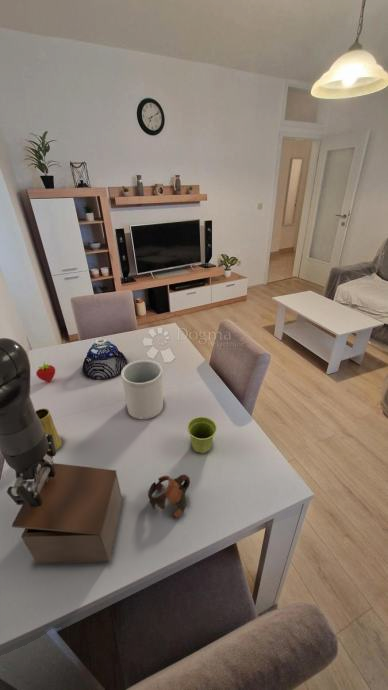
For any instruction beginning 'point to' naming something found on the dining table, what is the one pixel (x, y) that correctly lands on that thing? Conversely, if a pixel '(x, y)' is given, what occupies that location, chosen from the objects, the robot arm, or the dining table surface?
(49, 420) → the vase
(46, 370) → the strawberry
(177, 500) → the brown plush toy
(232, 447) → the dining table surface
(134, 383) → the utensil holder
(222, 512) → the dining table surface
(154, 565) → the dining table surface
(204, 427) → the plant pot
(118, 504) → the chest
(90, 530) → the lid
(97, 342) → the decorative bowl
